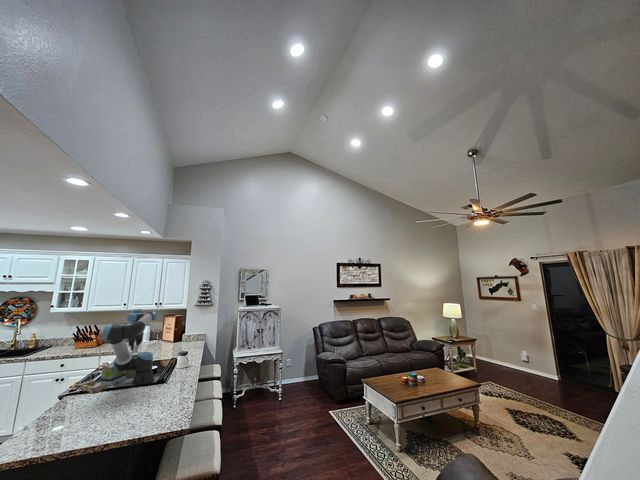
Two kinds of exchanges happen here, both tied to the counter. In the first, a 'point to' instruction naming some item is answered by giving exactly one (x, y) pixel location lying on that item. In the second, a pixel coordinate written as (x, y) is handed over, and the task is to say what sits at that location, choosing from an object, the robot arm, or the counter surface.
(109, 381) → the tea box
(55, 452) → the counter surface
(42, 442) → the counter surface
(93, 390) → the bay
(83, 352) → the counter surface
